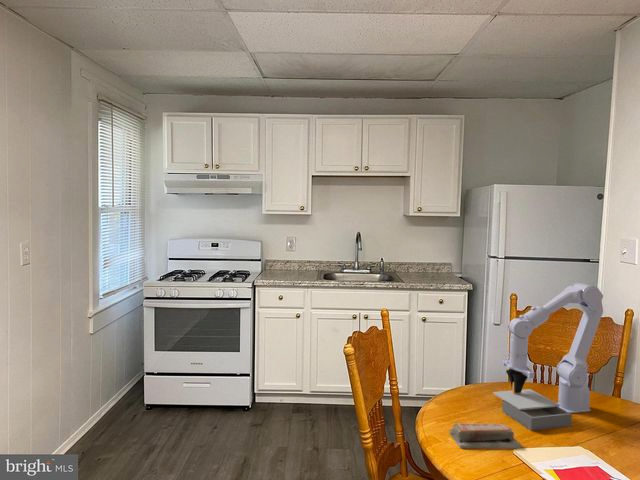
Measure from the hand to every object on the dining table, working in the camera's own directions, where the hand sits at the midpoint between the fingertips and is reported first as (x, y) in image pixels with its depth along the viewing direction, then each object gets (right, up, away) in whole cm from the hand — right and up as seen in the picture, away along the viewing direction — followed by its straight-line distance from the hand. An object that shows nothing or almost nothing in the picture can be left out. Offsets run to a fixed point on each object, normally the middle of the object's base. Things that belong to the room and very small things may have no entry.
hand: (516, 391), depth 165 cm
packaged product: (-20, -7, -25) cm, 33 cm away
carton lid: (+1, -1, -4) cm, 5 cm away
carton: (+2, -6, -9) cm, 11 cm away
